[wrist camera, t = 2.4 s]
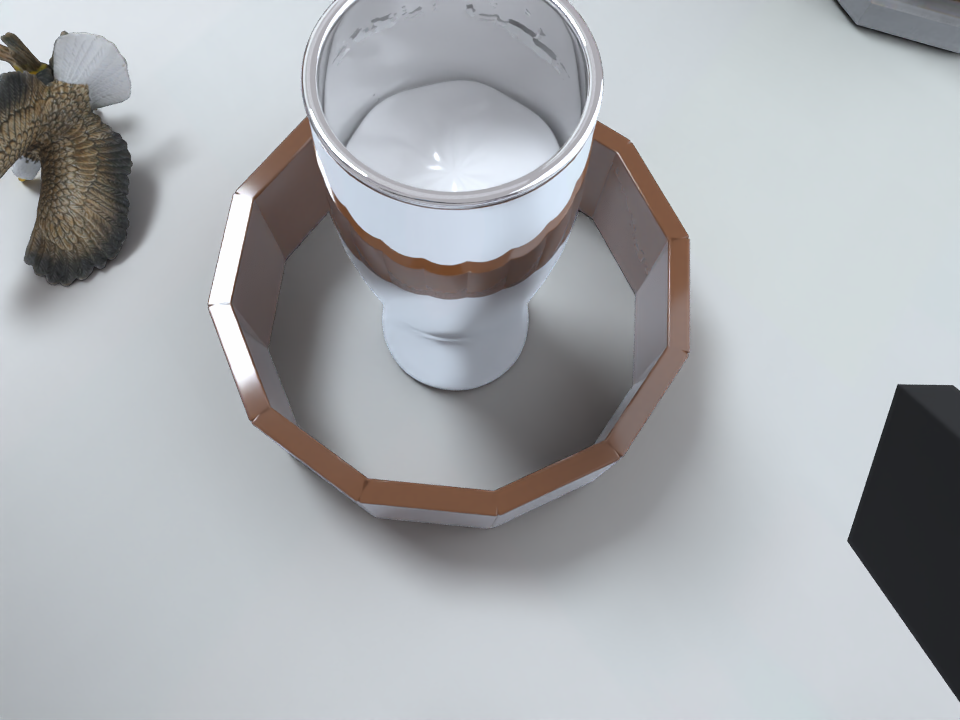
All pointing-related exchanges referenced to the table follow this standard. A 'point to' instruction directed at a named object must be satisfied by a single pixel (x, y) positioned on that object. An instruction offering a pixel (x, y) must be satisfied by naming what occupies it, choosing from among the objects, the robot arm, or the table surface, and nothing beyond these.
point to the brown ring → (245, 341)
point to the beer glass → (453, 164)
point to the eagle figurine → (68, 150)
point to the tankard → (911, 19)
